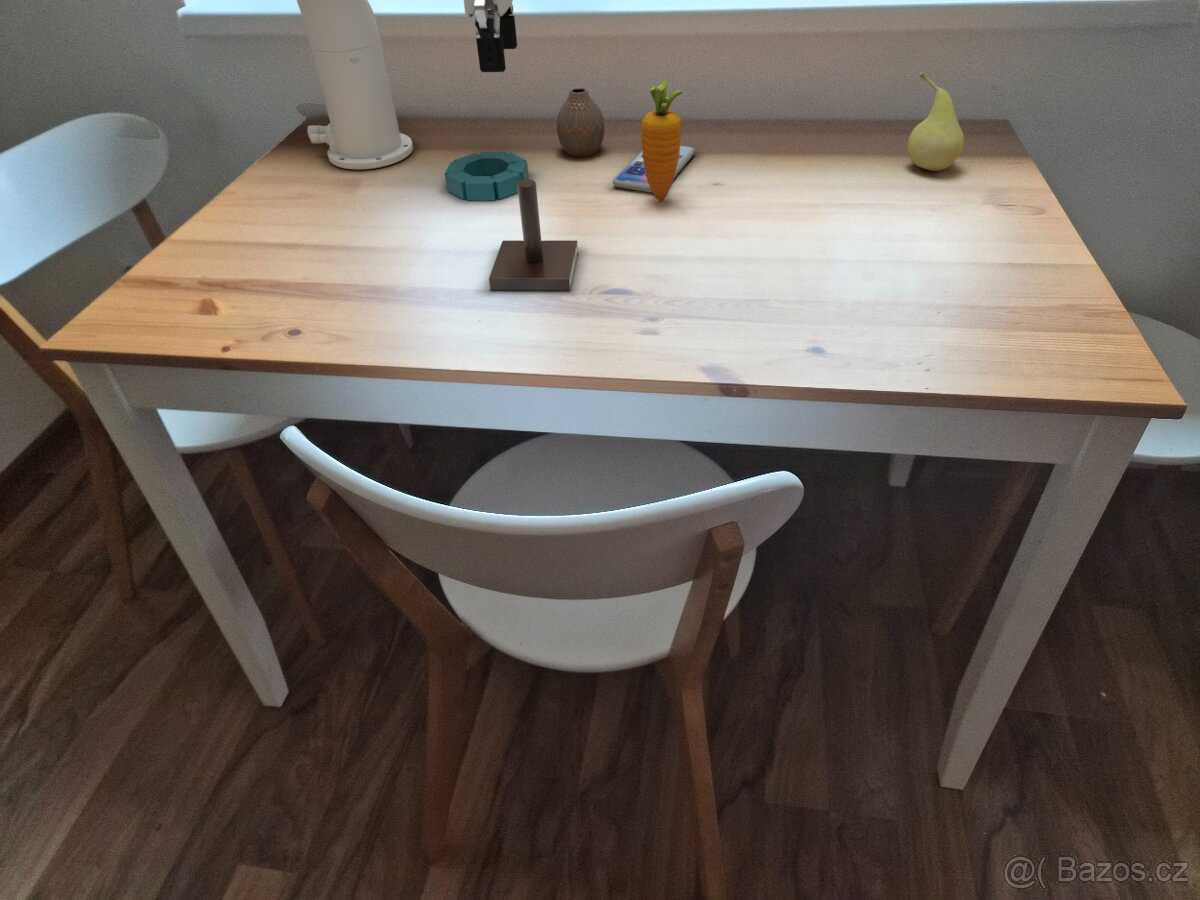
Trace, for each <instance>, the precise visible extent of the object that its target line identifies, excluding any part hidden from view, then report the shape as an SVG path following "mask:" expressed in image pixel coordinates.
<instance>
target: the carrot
mask: <svg viewBox="0 0 1200 900" xmlns="http://www.w3.org/2000/svg"><path fill="white" fill-rule="evenodd" d="M668 86H669V81H668V80H663V81H662V82H661V83H660V84H659V85H658V86H657V87H656V86H653V87H651V88H650V90H649V93H650V96H651V97H652V100H653V102H654V105H655V110H652V111H648V113H646V114H645V116H644V118H643V119H642V121H641V127H640V129H641V151H642V153H643V161H644V167H645V172H646V176H647V180H648V183H649V186H650V188H651V190H652V192H653V193H652V194H653V196H654V198H655V200H656V201H657V202H659V203H663V202H664V201H665V199H666V198H667V196H668V194H669V192H670V190H671V188H672V186H673V182H674V180H675V178H676V176H675V173H676V169H677V164H678V159H679V154H680V146H681V142H682V141H681V139H682V118H681V116H680V115H679V114H678V113H676V112H674V111H672V110H670V109H669V108H670V106H671V105H672V103H673V101H674V100H675V99H676V98H677V97H678V96H680V95H682V94H683V91H682V90H681V89H680V88H678V89H675V90H674V91H673V92H672V93H671V94H670V95H669V97H668V96H667V93H668Z"/></svg>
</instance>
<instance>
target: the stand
mask: <svg viewBox="0 0 1200 900" xmlns="http://www.w3.org/2000/svg"><path fill="white" fill-rule="evenodd" d="M517 187H518V193H517V195H518V203H519V212H520V221H521V230H522V231H521V232H522V239H523V240H501V243H500V245H499V249H498V253H497V255H496V258H495V260H494V263H493V266H492V269H491V271H490V274H489V277H488V282H489V283H488V284H489V289H490V290H489V291H555V292H556V291H557V292H559V291H561V292H562V291H563V292H564V291H565V292H566V291H569V292H570V291H571V287H572V283H573V279H574V272H575V268H576V264H577V259H578V254H579V245H578V244H579V243H578V240H576V239H575V240H572V239H571V240H567V239H565V240H561V239H560V240H558V239H557V240H555V239H554V240H542V231H541V222H540V221H541V220H540V211H539V201H538V193H537V191H538V190H537V182H536V181H535V180H534V179H531V178H528V179H525V180H521V181H519V182H518V183H517Z"/></svg>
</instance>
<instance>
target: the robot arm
mask: <svg viewBox="0 0 1200 900" xmlns="http://www.w3.org/2000/svg"><path fill="white" fill-rule="evenodd" d="M513 1H514V0H463V6H464V7H463V8H464V13H465V15H466V16H467V17H468V18H473V17H474V15H475V20H474V26H475V40H476V41H475V42H476V49H477V57H478V64H479V70H480V72H481V73H504V72H505V71H506V68H507V65H506V57H505V50H515V49H517V47H518V38H517V31H516V30H517V29H516V28H517V27H516V16H515V15H514V5H513ZM296 3H297V6H298V8H299V11H300V15H301V18H302V21H303V26H304V28H305V32H306V35H307V39H308V43H309V48H310V50H311V55H312V57H313V62H314V66H315V70H316V73H317V77H318V81H319V84H320V89H321V93H322V96H323V100H324V104H325V107H326V112H327V116H328V120H329V123H328V124H327V125H318V124H317V125H316V124H315V125H308V126H307V129H306V130H307V136H308V138H309V140H310V142H311V144H326V145H327V146H329V147H328V149H327V151H326V155H327V158H328V161H329V162H330V164H332V165H334V166H336V167H338V168H341V169H347V170H372V169H379V168H383V167H387V166H390V165H393V164H396V163H399V162H401V161H403V160H404V159H406V158H408V157H409V156H410V155H411V154H412V152H413V150H414V144H413V140H412V138H411V137H410V136H408V135H407V134H404V133H402V132H400V127H399V123H398V118H397V113H396V109H395V103H394V99H393V94H392V89H391V85H390V79H389V75H388V70H387V65H386V59H385V55H384V49H383V46H382V45H383V44H382V40H381V35H380V31H379V26H378V22H377V19H376V16H375V13H374V10H373V8H372V6H371V4H370V1H369V0H296Z"/></svg>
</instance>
